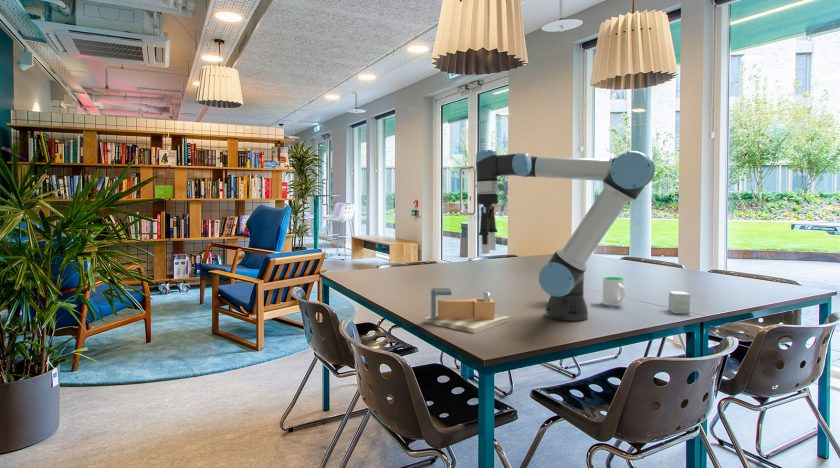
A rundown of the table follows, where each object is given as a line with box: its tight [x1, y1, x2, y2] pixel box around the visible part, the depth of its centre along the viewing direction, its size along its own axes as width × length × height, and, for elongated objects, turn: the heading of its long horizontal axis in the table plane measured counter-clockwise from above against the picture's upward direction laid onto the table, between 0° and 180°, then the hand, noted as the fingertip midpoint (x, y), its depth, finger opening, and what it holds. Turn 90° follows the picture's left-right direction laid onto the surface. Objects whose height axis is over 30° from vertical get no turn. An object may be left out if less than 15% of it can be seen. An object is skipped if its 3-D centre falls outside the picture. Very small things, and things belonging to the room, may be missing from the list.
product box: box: [667, 290, 691, 314], centre depth 196 cm, size 6×6×7 cm
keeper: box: [430, 287, 452, 320], centre depth 181 cm, size 7×7×10 cm
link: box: [437, 297, 496, 319], centre depth 183 cm, size 20×7×6 cm, turn 92°
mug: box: [602, 276, 626, 307], centre depth 209 cm, size 12×8×10 cm
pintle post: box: [483, 291, 491, 302], centre depth 182 cm, size 2×2×9 cm
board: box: [423, 313, 510, 334], centre depth 183 cm, size 22×21×2 cm
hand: (488, 251), depth 188 cm, fingers open, 13 cm apart
